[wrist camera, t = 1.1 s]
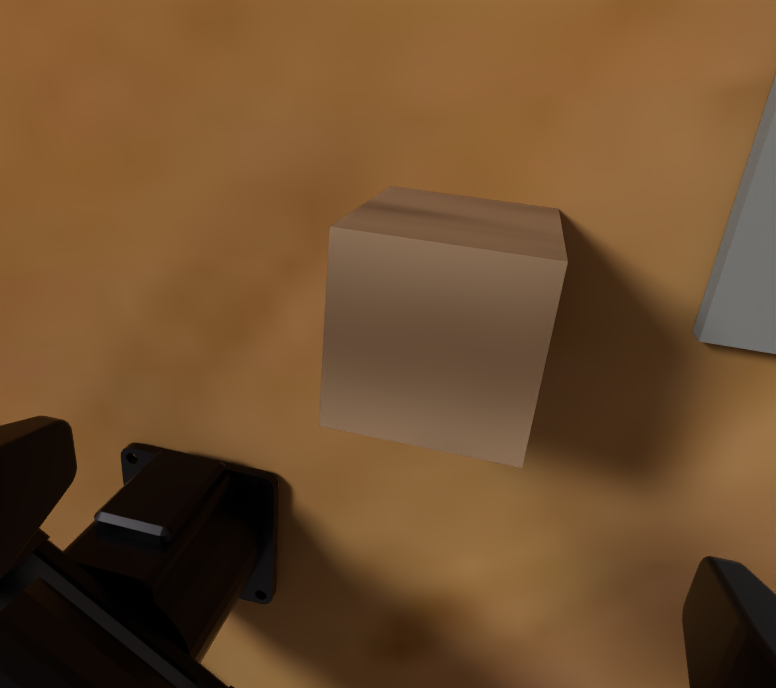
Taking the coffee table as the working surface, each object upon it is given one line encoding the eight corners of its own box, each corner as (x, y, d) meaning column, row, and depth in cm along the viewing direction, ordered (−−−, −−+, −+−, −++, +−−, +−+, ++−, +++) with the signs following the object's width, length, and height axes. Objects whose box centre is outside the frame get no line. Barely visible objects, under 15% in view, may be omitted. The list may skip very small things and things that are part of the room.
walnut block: (526, 363, 20) (522, 467, 14) (376, 336, 20) (318, 425, 15) (558, 208, 18) (567, 261, 12) (390, 186, 18) (329, 226, 13)
